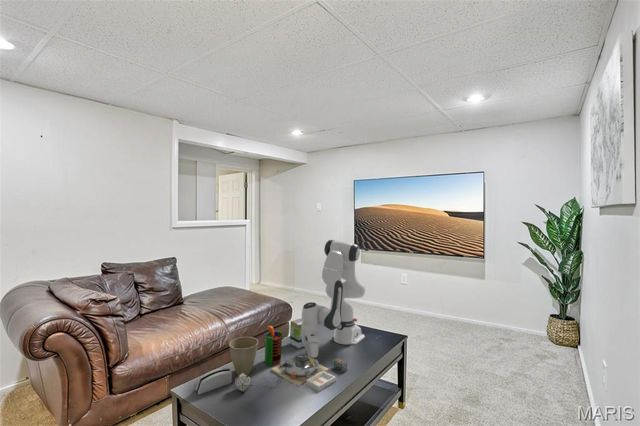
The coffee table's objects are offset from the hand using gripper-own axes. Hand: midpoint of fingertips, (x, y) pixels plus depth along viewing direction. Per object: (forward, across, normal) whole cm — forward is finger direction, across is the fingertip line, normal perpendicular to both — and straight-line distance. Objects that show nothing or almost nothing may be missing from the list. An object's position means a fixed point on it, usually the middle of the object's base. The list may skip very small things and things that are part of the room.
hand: (309, 357), depth 181 cm
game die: (+5, +14, -37) cm, 40 cm away
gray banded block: (+5, +7, +16) cm, 18 cm away
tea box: (+5, -31, +5) cm, 31 cm away
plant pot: (+5, -4, -35) cm, 36 cm away
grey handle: (+5, +7, -50) cm, 50 cm away
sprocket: (+3, +3, -6) cm, 8 cm away
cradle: (+5, +18, +1) cm, 19 cm away
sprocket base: (+5, +3, -6) cm, 8 cm away
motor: (+5, -11, -18) cm, 22 cm away
